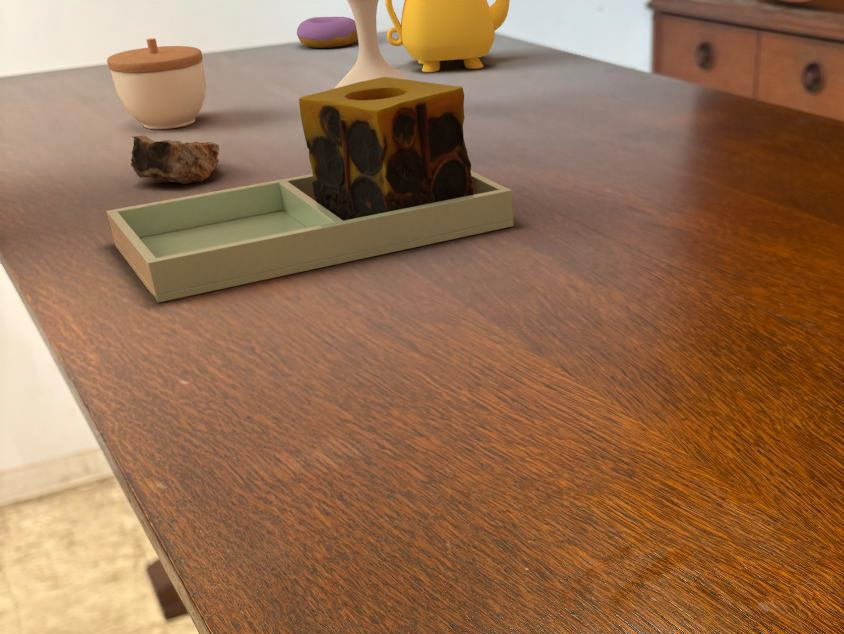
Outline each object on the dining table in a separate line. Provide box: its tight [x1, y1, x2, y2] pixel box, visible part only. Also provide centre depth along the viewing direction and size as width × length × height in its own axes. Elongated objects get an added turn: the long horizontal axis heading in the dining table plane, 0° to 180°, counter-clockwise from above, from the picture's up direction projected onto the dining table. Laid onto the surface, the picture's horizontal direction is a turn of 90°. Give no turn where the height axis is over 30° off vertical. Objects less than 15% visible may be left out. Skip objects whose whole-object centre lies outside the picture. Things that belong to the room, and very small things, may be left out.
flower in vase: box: [333, 0, 409, 89], centre depth 123 cm, size 13×11×25 cm
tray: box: [106, 170, 514, 304], centre depth 92 cm, size 16×30×3 cm, turn 119°
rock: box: [130, 135, 220, 185], centre depth 110 cm, size 9×6×10 cm
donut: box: [296, 16, 358, 49], centre depth 172 cm, size 10×9×5 cm
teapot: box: [384, 0, 510, 73], centre depth 152 cm, size 14×20×13 cm
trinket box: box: [106, 37, 207, 130], centre depth 129 cm, size 11×11×9 cm
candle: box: [298, 77, 474, 221], centre depth 93 cm, size 10×10×10 cm
